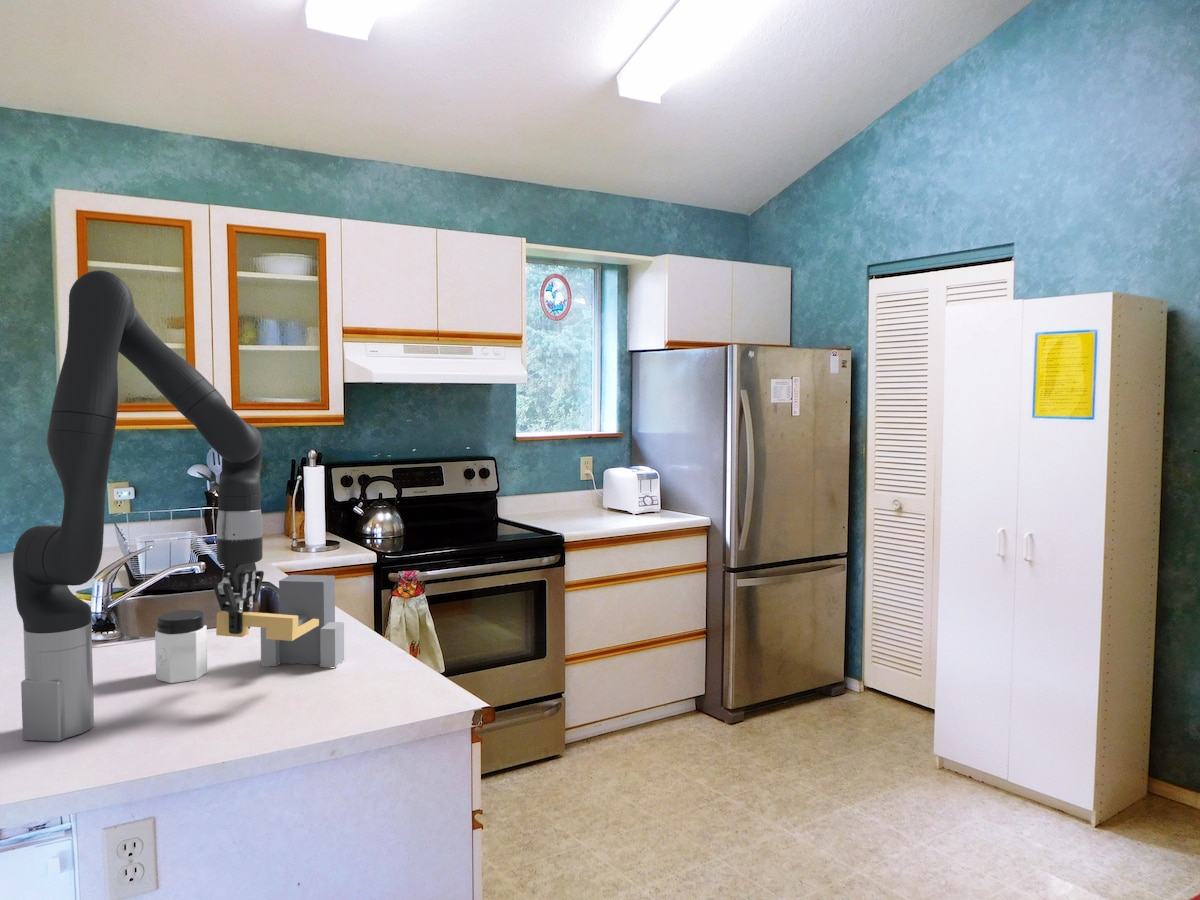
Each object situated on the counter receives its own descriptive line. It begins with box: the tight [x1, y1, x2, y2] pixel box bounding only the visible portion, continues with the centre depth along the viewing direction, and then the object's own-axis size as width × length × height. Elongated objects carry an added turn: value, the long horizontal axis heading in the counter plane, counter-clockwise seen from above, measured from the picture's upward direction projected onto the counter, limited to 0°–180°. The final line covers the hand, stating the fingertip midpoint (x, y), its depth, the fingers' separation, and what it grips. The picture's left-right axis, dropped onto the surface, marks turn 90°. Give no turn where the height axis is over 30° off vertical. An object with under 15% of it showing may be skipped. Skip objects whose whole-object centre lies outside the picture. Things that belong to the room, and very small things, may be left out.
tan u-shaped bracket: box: [216, 610, 319, 641], centre depth 155 cm, size 11×14×4 cm
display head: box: [260, 574, 345, 668], centre depth 170 cm, size 14×15×17 cm
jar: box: [154, 609, 209, 684], centre depth 163 cm, size 9×8×12 cm
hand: (239, 630), depth 151 cm, fingers closed on tan u-shaped bracket, 2 cm apart
